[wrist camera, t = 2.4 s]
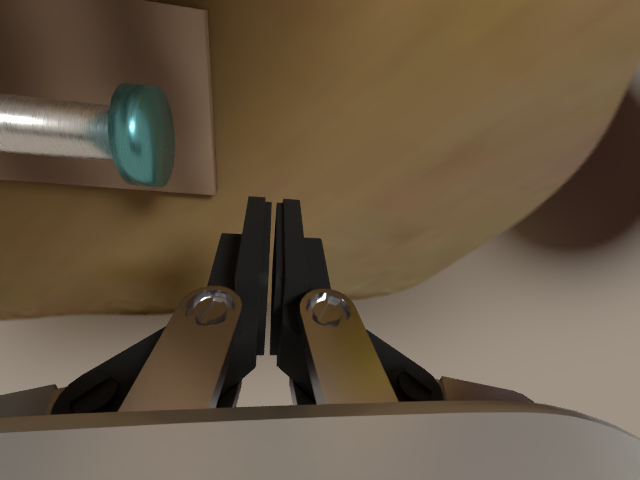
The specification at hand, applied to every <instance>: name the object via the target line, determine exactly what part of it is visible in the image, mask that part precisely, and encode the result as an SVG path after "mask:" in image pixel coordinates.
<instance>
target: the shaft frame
mask: <svg viewBox="0 0 640 480" xmlns="http://www.w3.org/2000/svg"><path fill="white" fill-rule="evenodd" d="M121 83H133V84H141V85H149V86H157V87H159V88H161V89H162V90H163V92H164V93H165V95H166V97H167V99H168V102H169V105H170V108H171V112H172V117H173V123H174V131H175V157H174V165H173V170H172V173H171V177H170V179H169V181H168V183H167V184H166V185H165V186H164V187H149V186H136V185H130V184H128V183H126V182H125V181H124V180H123V179H122V177H121V176H120V174H119V173H118V170H117V168H116V166H115V163H114V162H112V161H100V160H89V159H77V158H66V157H54V156H42V155H31V154H19V153H8V152H0V180H12V181H26V182H40V183H53V184H67V185H80V186H94V187H107V188H121V189H135V190H148V191H162V192H175V193H189V194H203V195H216V192H217V189H218V186H217V169H216V151H215V134H214V116H213V99H212V81H211V64H210V46H209V29H208V11H207V10H204V9H198V8H191V7H185V6H179V5H173V4H167V3H161V2H155V1H149V0H0V93H2V94H11V95H20V96H29V97H38V98H47V99H56V100H64V101H73V102H82V103H91V104H100V105H109V106H110V102H111V98H112V95H113V93H114V91H115V89H116V88H117V87H118V86H119V85H120V84H121Z"/></svg>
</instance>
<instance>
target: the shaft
mask: <svg viewBox="0 0 640 480" xmlns="http://www.w3.org/2000/svg"><path fill="white" fill-rule="evenodd" d="M0 152H8V153H19V154H31V155H42V156H54V157H66V158H77V159H89V160H100V161H112V162H114V163H115V166H116V168H117V170H118V173H119V174H120V176H121V177H122V179H123V180H124V181H125V182H126V183H128V184H130V185H136V186H149V187H164V186H165V185H166V184H167V183H168V181H169V179H170V177H171V173H172V170H173V165H174V157H175V131H174V123H173V117H172V112H171V108H170V105H169V102H168V99H167V97H166V95H165V93H164V92H163V90H162V89H161V88H159V87H157V86H149V85H141V84H133V83H121V84H120V85H119V86H118V87H117V88H116V89H115V91H114V93H113V95H112V98H111V102H110V106H109V105H100V104H91V103H82V102H73V101H64V100H56V99H47V98H38V97H29V96H20V95H11V94H2V93H0Z"/></svg>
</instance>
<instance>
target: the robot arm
mask: <svg viewBox="0 0 640 480" xmlns="http://www.w3.org/2000/svg"><path fill="white" fill-rule="evenodd" d="M271 206H272V202H265V197H251V196H249V198H248V204H247V209H246V215H245V221H244V227H243V233H242V234H227V233H222V234H221V237H220V241H219V245H218V248H217V252H216V256H215V260H214V263H213V267H212V271H211V274H210V278H209V282H208V286H206V287H201V288H199V289H196V290H194V291H192V292H190V293H189V294H187V295H186V296H185V297H184V298H183V299H182V301H181V302H180V303H179V305H178V307H177V308H176V310H175V312H174V314H173V315H172V317H171V319H170V321H169V322H168V324H167V326H166V327H164V328H162V329H160V330H159V331H157V332H155V333H154V334H152V335H150V336H149V337H147V338H145V339H143V340H142V341H140V342H138V343H137V344H135V345H133V346H131V347H130V348H128V349H126V350H125V351H123V352H121V353H119V354H118V355H116V356H114V357H112V358H111V359H109V360H108V361H106V362H104V363H102V364H101V365H99V366H97V367H95V368H93V369H92V370H90V371H88V372H87V373H85V374H83V375H82V376H80V377H79V378H77V379H76V380H75V381H73V382H72V383H70V384H69V385H68V386H67V387H65V388H59V389H58V388H57V386H56V385H55V384H54V385H49V386H44V387H39V388H34V389H29V390H24V391H20V392H15V393H10V394H5V395H0V480H640V438H639V437H637V436H636V435H634V434H632V433H630V432H628V431H626V430H624V429H622V428H620V427H618V426H615V425H613V424H611V423H608V422H606V421H603V420H600V419H597V418H594V417H591V416H589V415H586V414H583V413H580V412H577V411H574V410H569V409H564V408H561V407H555V406H551V405H547V404H540V403H534V402H533V401H532V400H531V399H529V398H527V397H526V396H525V395H523V394H521V393H518V392H515V391H513V390H508V389H503V388H498V387H493V386H488V385H483V384H479V383H473V382H469V381H463V380H459V379H454V378H449V377H444V376H442V377H441V379H440V380H438V379H435V378H434V377H433V376H432V375H431V374H430V373H428V372H427V371H426V370H425V369H423V368H422V367H421V366H419V365H418V364H416V363H415V362H413V361H412V360H410V359H409V358H407V357H406V356H404V355H403V354H402V353H400V352H399V351H397V350H395V349H394V348H393V347H391V346H390V345H388V344H387V343H385V342H384V341H382V340H381V339H380V338H378V337H377V336H375V335H374V334H372V333H371V332H369V331H368V330H366V329H365V327H364V325H363V323H362V321H361V318H360V316H359V314H358V312H357V310H356V307H355V305H354V304H353V302H352V301H351V300H350V299H349V298H348V297H347V296H346V295H344V294H342V293H340V292H338V291H336V290H332V289H331V287H330V282H329V277H328V272H327V266H326V261H325V256H324V251H323V245H322V241H321V239H320V238H304V234H303V225H302V216H301V207H300V200H292V199H283V203H277V207H276V222H275V237H274V252H273V267H272V297H271V332H270V333H271V334H270V355H277V366H279V368H280V369H281V370H282V371H283V372H284V373H286V374H287V375H288V376H289V384H290V385H289V386H290V391H291V396H292V401H293V405H290V406H261V407H236V405H237V401H238V398H239V393H240V390H241V385H242V379H243V378H244V377H245V376H246V375H247V374H248V373H250V372H251V371H252V370H253V369H254V368H255V367H256V355H264V345H265V344H264V343H265V328H266V311H267V294H268V276H269V253H270V230H271Z"/></svg>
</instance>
